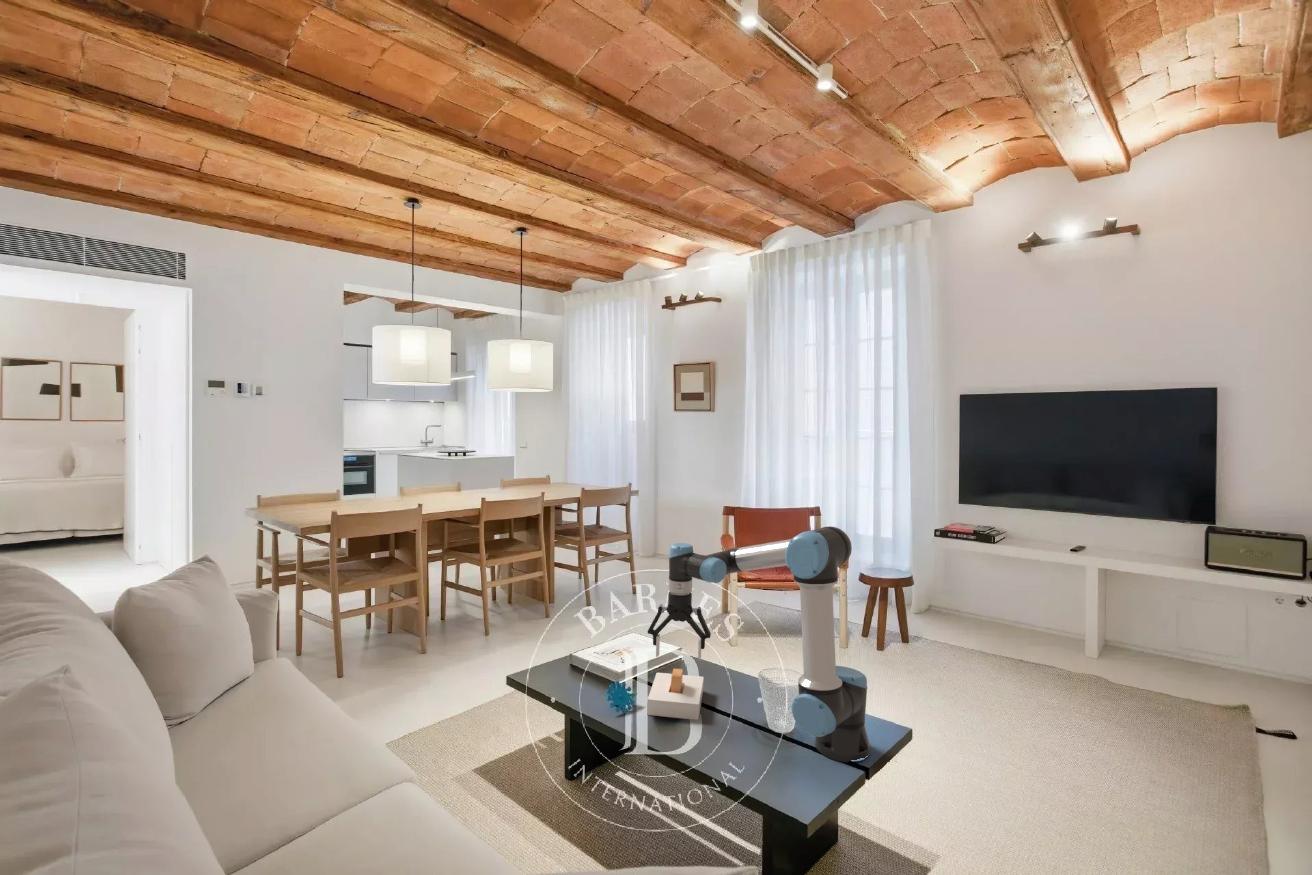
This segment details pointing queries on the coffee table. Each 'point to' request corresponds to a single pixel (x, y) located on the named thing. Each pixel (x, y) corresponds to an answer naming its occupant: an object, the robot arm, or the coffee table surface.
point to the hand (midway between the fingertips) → (678, 656)
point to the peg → (676, 681)
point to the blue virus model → (620, 697)
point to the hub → (675, 697)
